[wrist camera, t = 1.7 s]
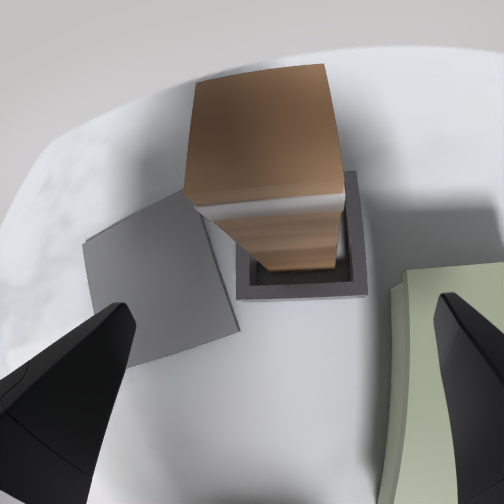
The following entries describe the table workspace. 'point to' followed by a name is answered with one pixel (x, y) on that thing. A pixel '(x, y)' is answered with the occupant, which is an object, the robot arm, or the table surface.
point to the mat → (161, 279)
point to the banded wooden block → (269, 165)
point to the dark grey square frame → (314, 291)
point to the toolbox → (428, 381)
